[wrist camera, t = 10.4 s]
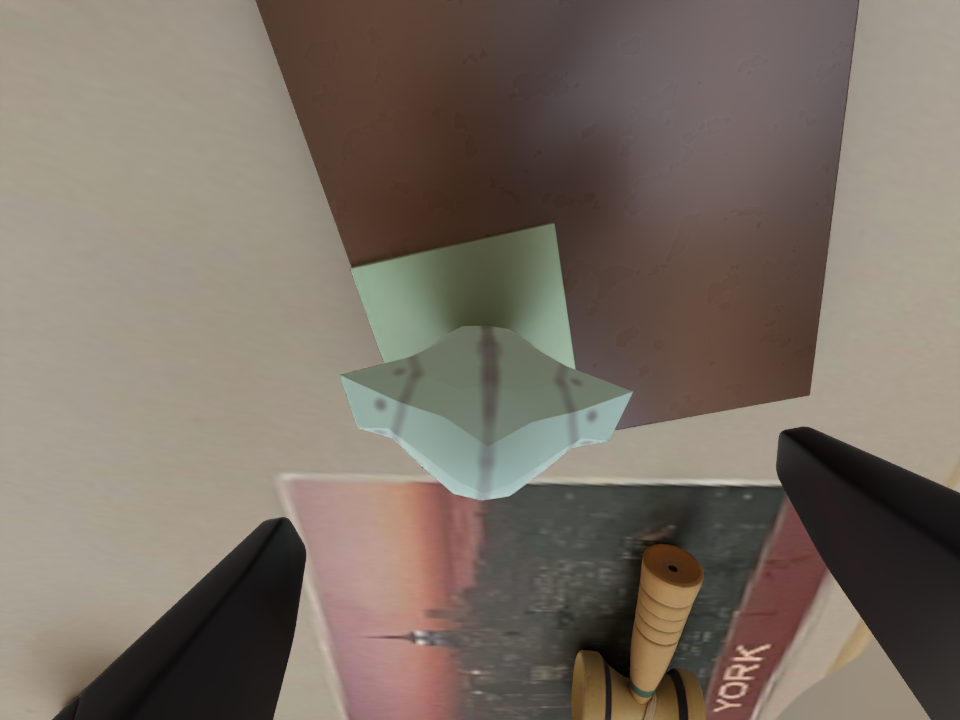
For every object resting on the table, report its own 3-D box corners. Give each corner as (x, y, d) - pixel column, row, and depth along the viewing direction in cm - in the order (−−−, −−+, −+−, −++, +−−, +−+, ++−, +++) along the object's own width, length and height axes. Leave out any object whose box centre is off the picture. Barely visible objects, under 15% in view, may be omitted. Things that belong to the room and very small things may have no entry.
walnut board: (846, -332, 12) (919, -417, 10) (782, 370, 21) (813, 398, 19) (229, -139, 13) (187, -179, 11) (426, 436, 23) (421, 468, 21)
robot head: (599, 303, 17) (665, 414, 11) (579, 400, 19) (627, 538, 13) (371, 289, 17) (314, 394, 11) (374, 389, 19) (329, 525, 13)
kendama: (572, 524, 27) (543, 737, 34) (625, 619, 21) (578, 855, 28) (695, 511, 29) (645, 717, 35) (776, 597, 23) (698, 825, 29)
